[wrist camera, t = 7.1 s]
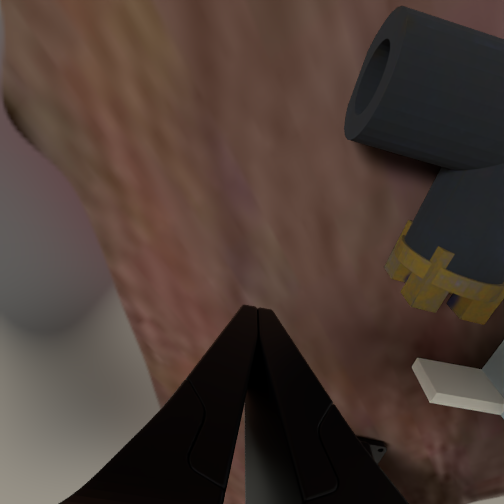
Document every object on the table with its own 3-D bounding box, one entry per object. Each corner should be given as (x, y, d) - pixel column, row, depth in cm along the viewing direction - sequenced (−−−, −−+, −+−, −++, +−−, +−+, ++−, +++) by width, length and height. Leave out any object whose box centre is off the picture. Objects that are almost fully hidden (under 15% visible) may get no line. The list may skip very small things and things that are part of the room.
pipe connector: (590, 357, 16) (307, 288, 15) (516, 297, 21) (297, 241, 20) (825, 120, 11) (429, -14, 10) (658, 112, 16) (376, 21, 15)
